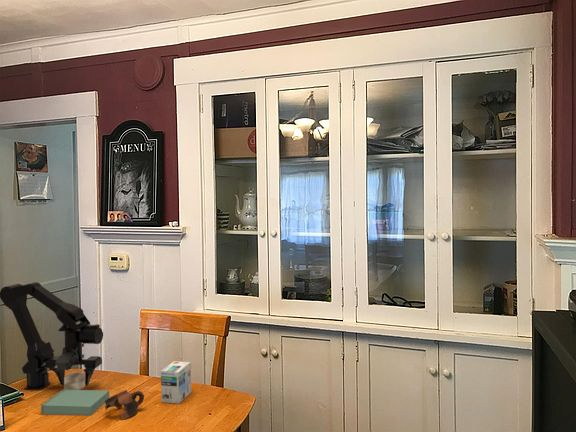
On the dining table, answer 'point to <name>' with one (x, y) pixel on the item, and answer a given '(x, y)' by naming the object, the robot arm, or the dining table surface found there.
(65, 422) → the dining table surface
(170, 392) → the light bulb box
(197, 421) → the dining table surface
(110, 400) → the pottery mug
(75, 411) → the green book
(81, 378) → the wooden cube
